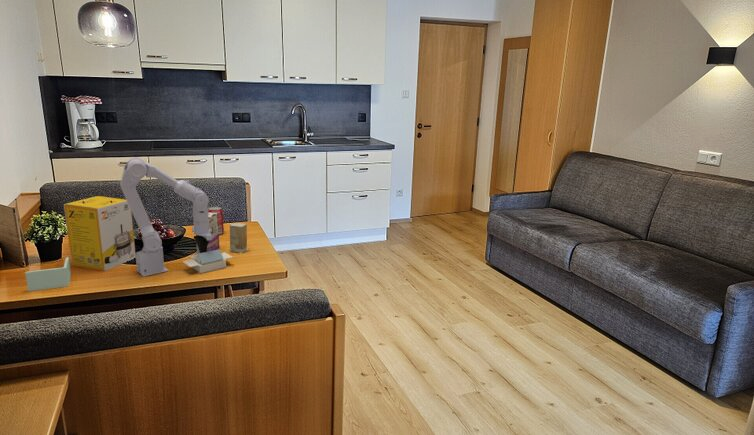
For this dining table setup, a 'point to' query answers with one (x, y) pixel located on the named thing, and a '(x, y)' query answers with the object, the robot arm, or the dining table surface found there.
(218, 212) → the soda can
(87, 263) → the packaging box
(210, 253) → the flap
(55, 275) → the l-shaped corner panel
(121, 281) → the dining table surface
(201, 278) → the dining table surface
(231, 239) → the skincare box
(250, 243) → the dining table surface
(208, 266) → the carton
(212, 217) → the candy bar box
